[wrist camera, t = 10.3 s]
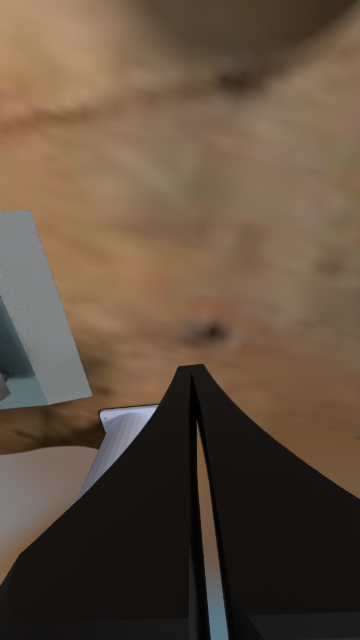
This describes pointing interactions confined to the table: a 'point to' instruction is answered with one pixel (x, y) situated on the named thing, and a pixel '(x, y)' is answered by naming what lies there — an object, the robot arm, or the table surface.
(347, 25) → the table surface
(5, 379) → the cabinet door with handle
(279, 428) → the table surface
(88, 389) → the dock bay
